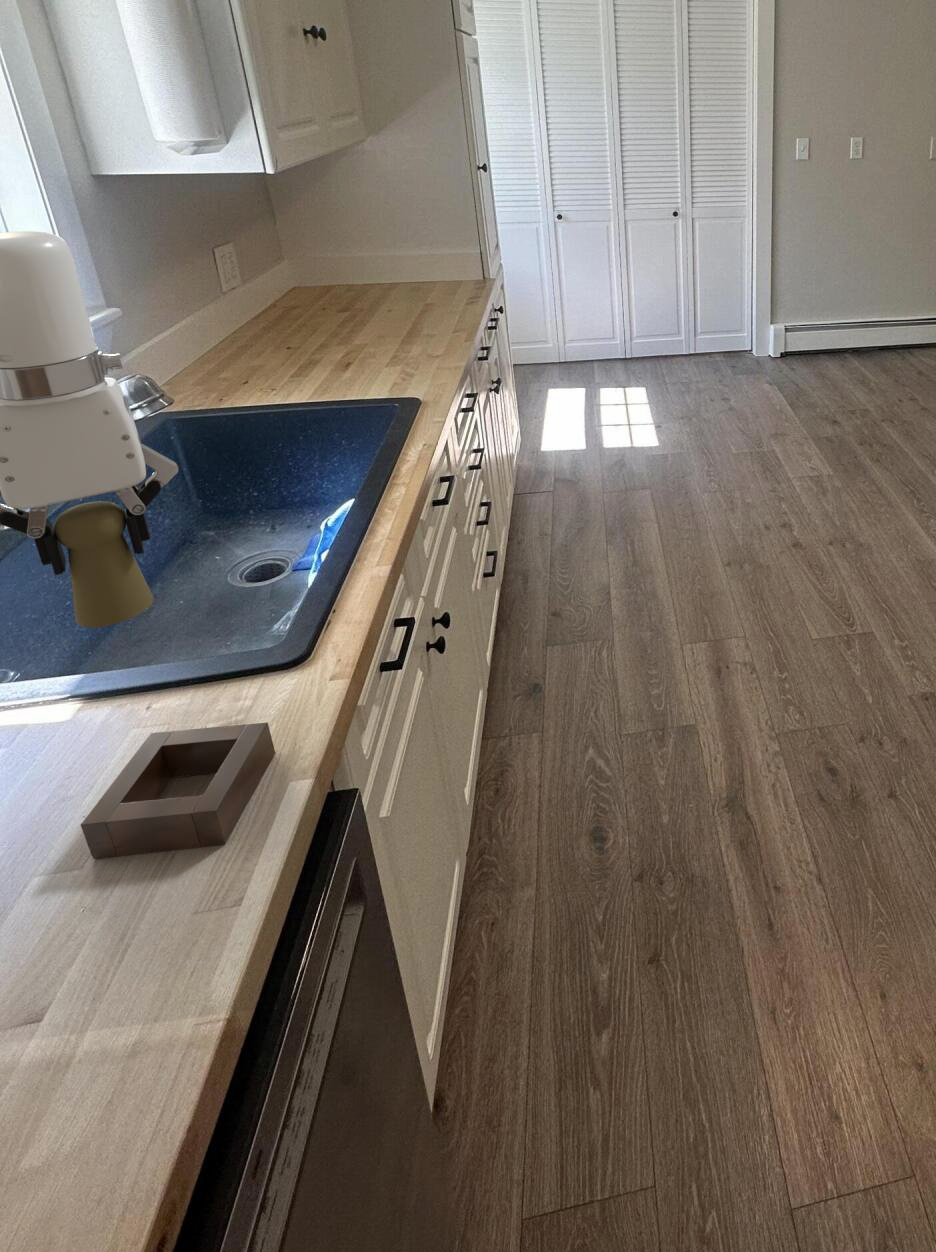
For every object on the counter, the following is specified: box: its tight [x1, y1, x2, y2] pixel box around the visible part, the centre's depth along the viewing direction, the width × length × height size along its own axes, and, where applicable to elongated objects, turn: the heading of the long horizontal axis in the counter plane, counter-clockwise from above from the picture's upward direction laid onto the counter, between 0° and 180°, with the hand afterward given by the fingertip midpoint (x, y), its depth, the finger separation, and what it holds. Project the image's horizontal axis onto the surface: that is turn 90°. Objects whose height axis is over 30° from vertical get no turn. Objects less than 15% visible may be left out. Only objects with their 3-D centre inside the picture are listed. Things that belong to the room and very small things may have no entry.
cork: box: [53, 500, 154, 629], centre depth 75 cm, size 6×6×11 cm
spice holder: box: [80, 722, 276, 860], centre depth 74 cm, size 11×11×4 cm
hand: (100, 556), depth 75 cm, fingers closed on cork, 5 cm apart
